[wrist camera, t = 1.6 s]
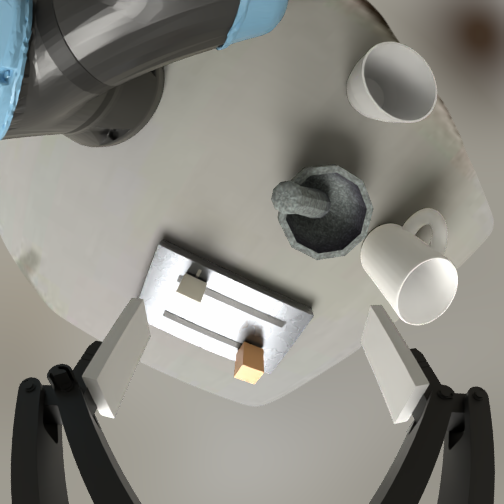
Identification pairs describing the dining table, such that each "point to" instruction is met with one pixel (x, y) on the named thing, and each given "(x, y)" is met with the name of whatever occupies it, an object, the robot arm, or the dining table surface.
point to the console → (222, 308)
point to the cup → (392, 84)
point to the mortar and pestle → (323, 211)
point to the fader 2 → (249, 363)
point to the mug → (412, 267)
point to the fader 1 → (188, 296)
